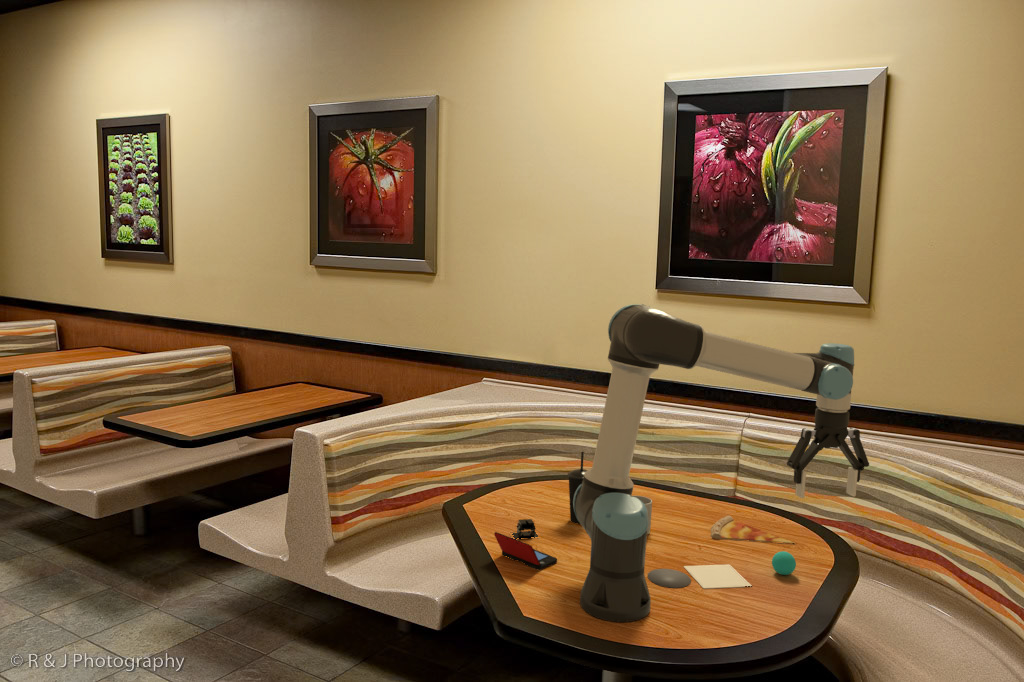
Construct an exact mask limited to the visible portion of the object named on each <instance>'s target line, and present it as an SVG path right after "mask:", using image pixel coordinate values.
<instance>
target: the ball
mask: <svg viewBox="0 0 1024 682" xmlns="http://www.w3.org/2000/svg"><path fill="white" fill-rule="evenodd" d="M771 564H772V565H771V567H772V568H773V570H774V571H775V572H776V573H777V574H780V575H781V576H789V575H791V574H792V573H794V571H795V570H796V567H797V563H796V560H795V557H794V555H793V554H791V553H790V552H789V551H783V550H782V551H778V552H776V553H775V554H774V555H773V556H772V559H771Z"/></svg>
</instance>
